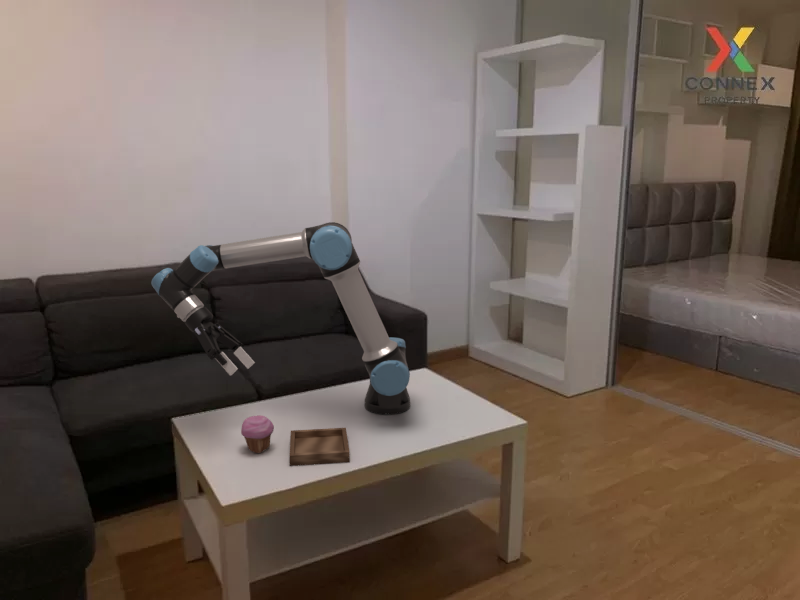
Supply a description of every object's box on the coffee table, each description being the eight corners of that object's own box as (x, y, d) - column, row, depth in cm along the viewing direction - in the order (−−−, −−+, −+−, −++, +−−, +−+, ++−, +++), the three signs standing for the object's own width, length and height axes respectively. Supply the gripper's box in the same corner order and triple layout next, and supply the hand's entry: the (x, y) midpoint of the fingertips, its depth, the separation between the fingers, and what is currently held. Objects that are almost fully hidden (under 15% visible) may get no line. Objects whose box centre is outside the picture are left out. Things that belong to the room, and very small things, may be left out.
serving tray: (346, 436, 190) (345, 427, 189) (349, 462, 174) (349, 452, 173) (291, 440, 187) (290, 430, 187) (289, 466, 172) (289, 455, 171)
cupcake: (260, 459, 175) (259, 425, 173) (235, 453, 179) (233, 419, 177) (280, 446, 183) (279, 413, 181) (256, 440, 187) (254, 408, 185)
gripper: (203, 320, 199) (249, 371, 197) (164, 326, 174) (216, 384, 173) (220, 304, 198) (266, 355, 197) (184, 307, 173) (236, 366, 172)
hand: (243, 369), depth 185 cm, fingers open, 13 cm apart
